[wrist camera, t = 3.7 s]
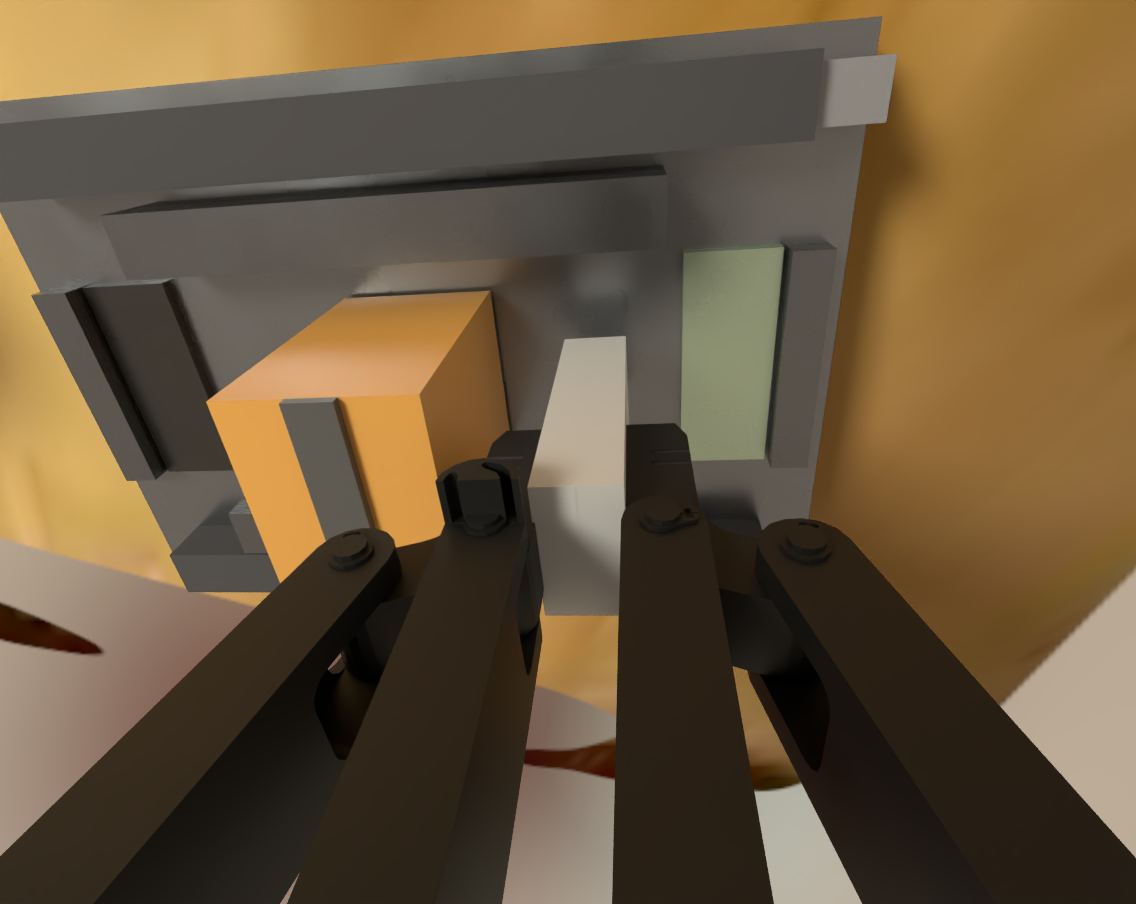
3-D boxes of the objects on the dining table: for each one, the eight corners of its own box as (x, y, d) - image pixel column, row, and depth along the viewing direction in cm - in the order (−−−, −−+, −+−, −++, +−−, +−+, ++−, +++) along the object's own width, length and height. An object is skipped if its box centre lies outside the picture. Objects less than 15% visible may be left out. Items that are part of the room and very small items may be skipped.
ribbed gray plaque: (12, 124, 15) (-49, 128, 14) (878, 45, 13) (906, 40, 12) (215, 560, 22) (188, 591, 21) (802, 558, 20) (815, 593, 19)
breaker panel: (27, 104, 17) (-140, 109, 14) (847, 26, 15) (921, 5, 11) (219, 531, 25) (145, 611, 21) (785, 526, 22) (816, 615, 19)
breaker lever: (345, 298, 17) (198, 406, 11) (490, 290, 16) (415, 398, 11) (383, 445, 19) (279, 597, 13) (511, 443, 19) (459, 598, 13)
